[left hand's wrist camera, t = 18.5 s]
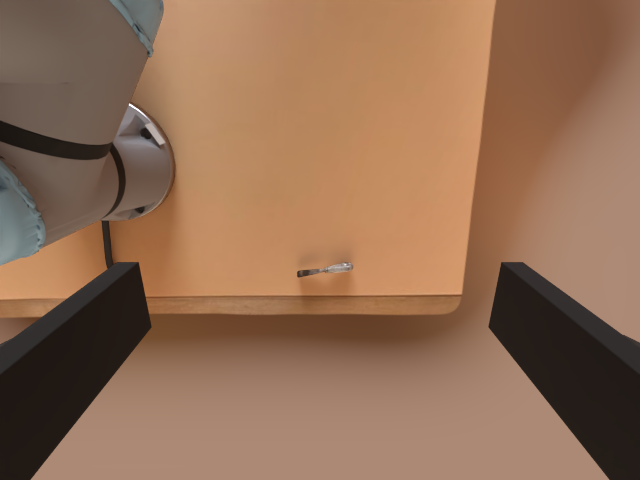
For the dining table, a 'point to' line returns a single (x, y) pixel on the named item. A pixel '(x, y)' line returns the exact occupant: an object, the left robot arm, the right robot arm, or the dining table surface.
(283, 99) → the dining table surface
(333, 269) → the putty knife
